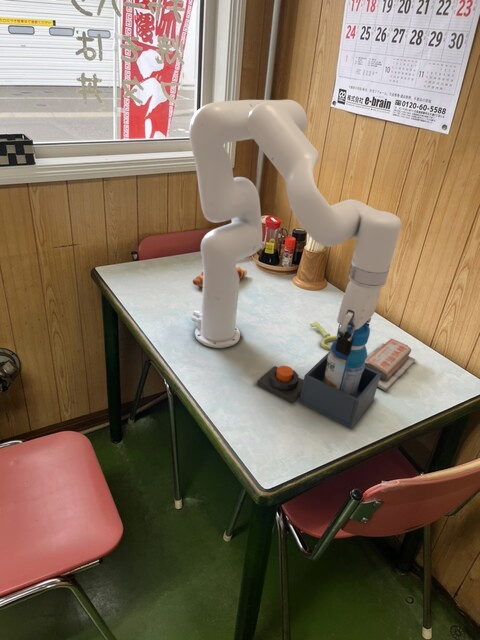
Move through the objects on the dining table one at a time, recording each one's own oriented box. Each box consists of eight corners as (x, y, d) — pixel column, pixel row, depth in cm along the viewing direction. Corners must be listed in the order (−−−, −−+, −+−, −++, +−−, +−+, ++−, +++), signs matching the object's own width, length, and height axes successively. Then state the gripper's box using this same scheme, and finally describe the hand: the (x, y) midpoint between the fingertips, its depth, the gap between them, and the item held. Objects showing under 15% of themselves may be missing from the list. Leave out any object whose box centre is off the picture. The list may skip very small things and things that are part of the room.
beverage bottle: (352, 413, 109) (372, 341, 99) (316, 403, 111) (332, 331, 101) (357, 391, 116) (376, 321, 106) (323, 382, 118) (338, 313, 108)
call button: (272, 377, 115) (273, 371, 114) (281, 369, 118) (282, 363, 117) (286, 384, 114) (288, 378, 113) (295, 376, 116) (296, 370, 115)
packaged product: (385, 332, 133) (419, 348, 128) (381, 347, 136) (414, 362, 131) (354, 358, 121) (390, 377, 116) (350, 374, 124) (385, 392, 119)
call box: (256, 384, 117) (258, 374, 115) (274, 370, 123) (275, 359, 121) (291, 403, 112) (293, 392, 111) (308, 386, 118) (310, 376, 116)
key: (314, 326, 143) (315, 320, 141) (348, 345, 135) (349, 339, 134) (298, 334, 138) (299, 327, 137) (332, 354, 131) (334, 348, 130)
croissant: (240, 281, 171) (235, 259, 170) (256, 280, 162) (252, 256, 161) (188, 293, 159) (183, 270, 158) (203, 292, 151) (198, 267, 150)
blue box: (299, 401, 113) (304, 375, 109) (324, 376, 122) (329, 350, 118) (351, 428, 107) (358, 401, 102) (373, 399, 116) (381, 373, 112)
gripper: (368, 255, 105) (351, 323, 114) (332, 281, 92) (317, 354, 101) (401, 266, 101) (381, 335, 110) (368, 294, 89) (349, 369, 98)
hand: (350, 344), depth 106 cm, fingers open, 8 cm apart
